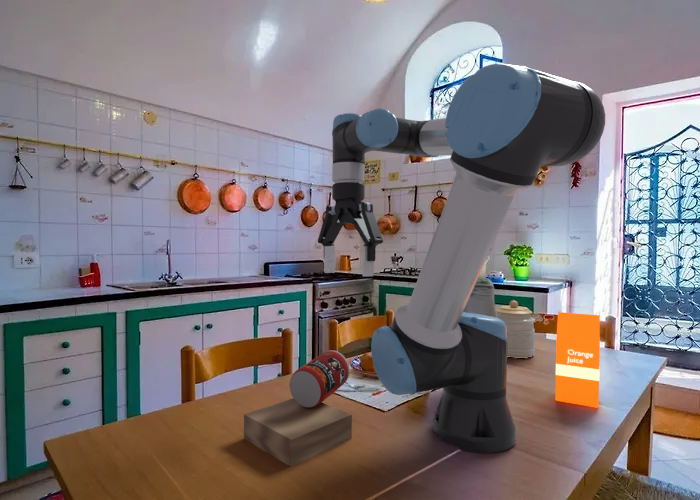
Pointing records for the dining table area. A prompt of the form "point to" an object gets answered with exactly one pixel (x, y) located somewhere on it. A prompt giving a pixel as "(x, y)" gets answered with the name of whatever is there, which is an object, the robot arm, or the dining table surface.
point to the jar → (518, 329)
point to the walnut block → (297, 430)
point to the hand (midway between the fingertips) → (347, 274)
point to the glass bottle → (482, 298)
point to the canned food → (319, 378)
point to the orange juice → (578, 359)
